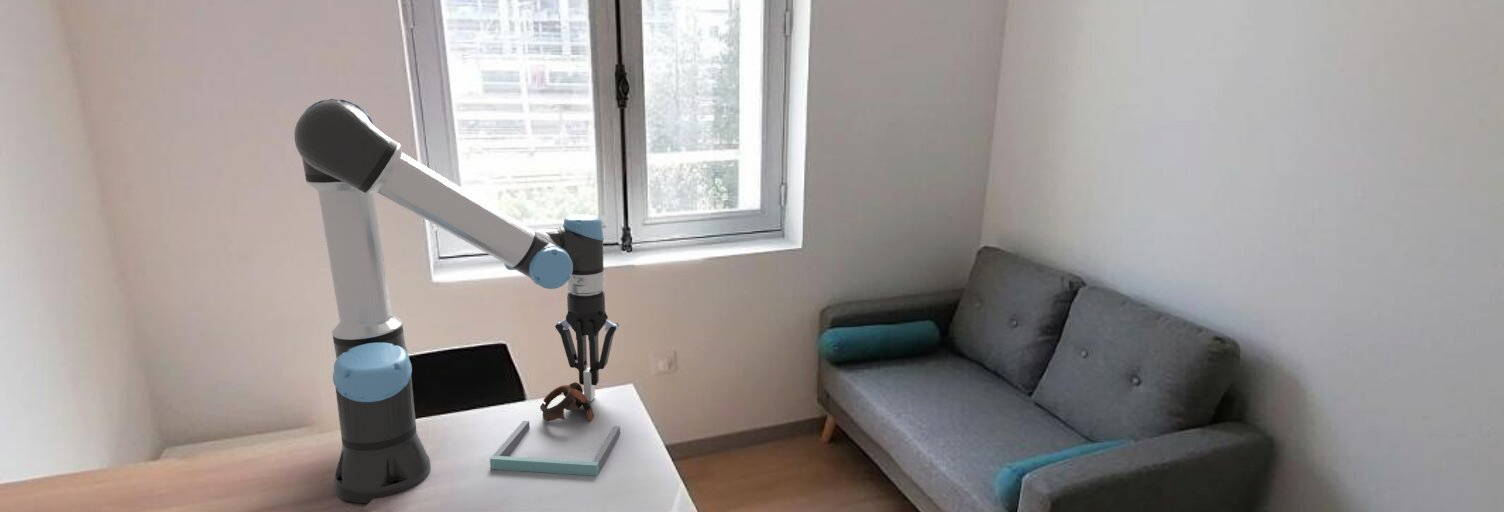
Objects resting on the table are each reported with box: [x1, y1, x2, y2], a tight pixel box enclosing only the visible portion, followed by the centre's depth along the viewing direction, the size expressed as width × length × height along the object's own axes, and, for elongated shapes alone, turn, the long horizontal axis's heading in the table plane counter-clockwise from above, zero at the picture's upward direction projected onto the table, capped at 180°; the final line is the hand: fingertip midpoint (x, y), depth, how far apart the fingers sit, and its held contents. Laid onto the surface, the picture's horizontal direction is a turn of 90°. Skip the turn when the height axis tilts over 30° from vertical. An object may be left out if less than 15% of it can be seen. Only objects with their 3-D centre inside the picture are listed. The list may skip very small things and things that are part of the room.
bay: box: [489, 420, 621, 477], centre depth 146 cm, size 19×16×2 cm
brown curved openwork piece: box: [539, 381, 595, 423], centre depth 159 cm, size 12×9×8 cm
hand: (589, 398), depth 165 cm, fingers closed
